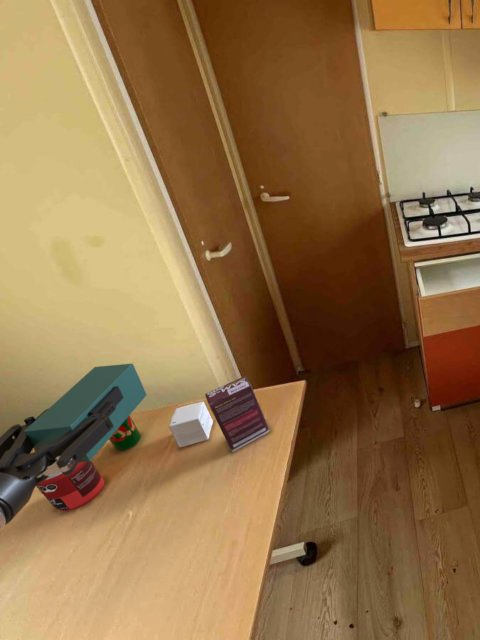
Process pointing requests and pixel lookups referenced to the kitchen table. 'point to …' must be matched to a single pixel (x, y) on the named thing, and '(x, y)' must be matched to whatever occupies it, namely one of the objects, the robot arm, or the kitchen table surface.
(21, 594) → the kitchen table surface
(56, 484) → the canned food
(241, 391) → the supplement box
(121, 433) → the soda can
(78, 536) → the kitchen table surface
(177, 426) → the product box
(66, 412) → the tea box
